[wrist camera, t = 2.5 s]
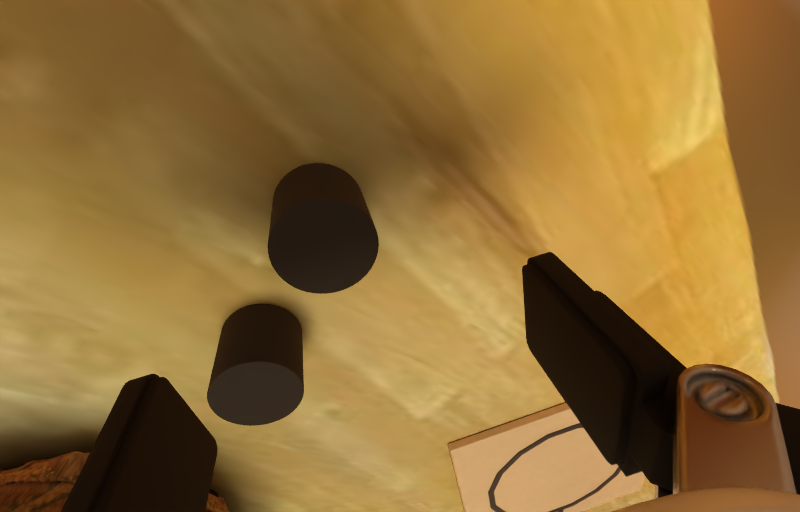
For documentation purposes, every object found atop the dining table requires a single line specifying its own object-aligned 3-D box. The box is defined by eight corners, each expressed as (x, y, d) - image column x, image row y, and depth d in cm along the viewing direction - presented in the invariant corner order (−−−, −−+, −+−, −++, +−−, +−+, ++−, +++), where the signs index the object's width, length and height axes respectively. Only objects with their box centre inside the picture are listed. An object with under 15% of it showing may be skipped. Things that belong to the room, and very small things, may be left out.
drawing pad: (447, 443, 30) (450, 452, 29) (665, 367, 31) (672, 374, 30) (472, 545, 39) (475, 553, 39) (637, 483, 41) (642, 490, 40)
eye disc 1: (206, 318, 20) (189, 380, 16) (286, 294, 20) (284, 349, 16) (241, 371, 22) (231, 436, 18) (312, 348, 22) (315, 408, 19)
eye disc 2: (258, 177, 17) (248, 218, 13) (349, 151, 17) (363, 184, 14) (291, 255, 19) (291, 306, 15) (372, 231, 19) (389, 276, 16)
